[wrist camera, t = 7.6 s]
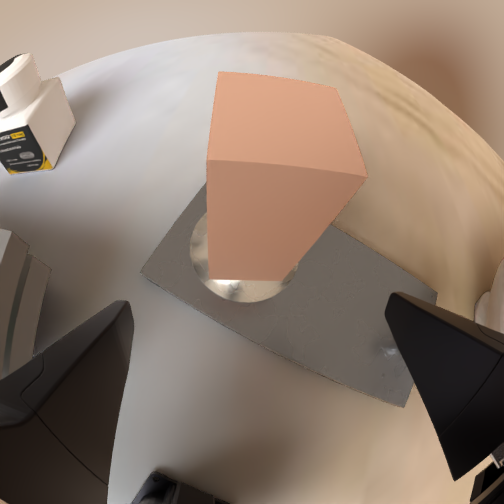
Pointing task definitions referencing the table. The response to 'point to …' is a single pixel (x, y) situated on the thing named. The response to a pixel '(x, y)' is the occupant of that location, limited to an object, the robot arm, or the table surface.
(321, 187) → the post
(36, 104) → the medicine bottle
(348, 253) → the drilled plate
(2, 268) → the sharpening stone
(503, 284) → the ceramic pitcher
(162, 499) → the robot arm
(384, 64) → the table surface
